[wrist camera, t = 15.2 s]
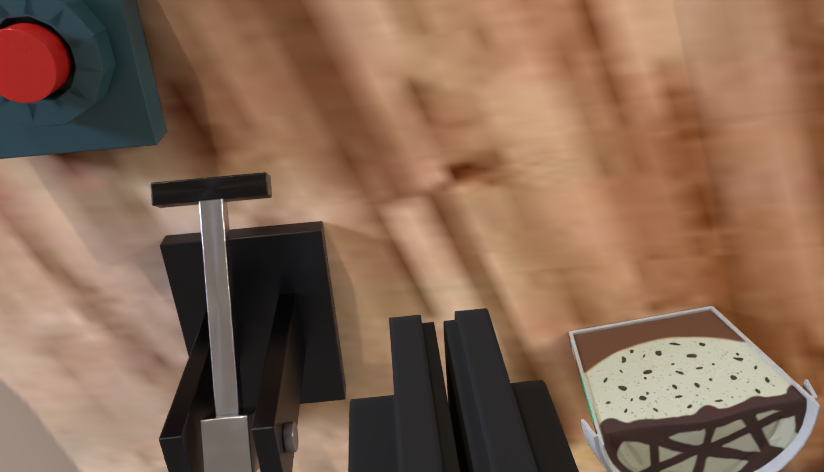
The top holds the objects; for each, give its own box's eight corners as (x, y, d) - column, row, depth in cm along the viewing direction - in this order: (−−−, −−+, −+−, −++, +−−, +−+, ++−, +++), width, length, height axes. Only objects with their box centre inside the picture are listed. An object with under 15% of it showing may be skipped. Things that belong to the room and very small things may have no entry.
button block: (-54, -59, 33) (-105, -53, 29) (119, -73, 33) (89, -68, 29) (16, 145, 37) (-21, 172, 33) (167, 132, 37) (147, 157, 34)
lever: (162, 187, 35) (144, 180, 32) (273, 177, 35) (263, 169, 32) (183, 472, 34) (167, 486, 31) (296, 460, 34) (289, 474, 32)
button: (-14, 25, 31) (-34, 32, 29) (59, 19, 31) (43, 25, 29) (10, 96, 32) (-8, 106, 31) (80, 90, 32) (65, 100, 31)
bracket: (164, 235, 40) (86, 373, 28) (322, 220, 40) (307, 351, 29) (207, 400, 45) (155, 573, 34) (346, 386, 45) (341, 553, 34)
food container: (552, 409, 47) (597, 529, 38) (545, 335, 45) (592, 446, 36) (731, 377, 47) (819, 490, 38) (735, 301, 45) (830, 404, 36)
